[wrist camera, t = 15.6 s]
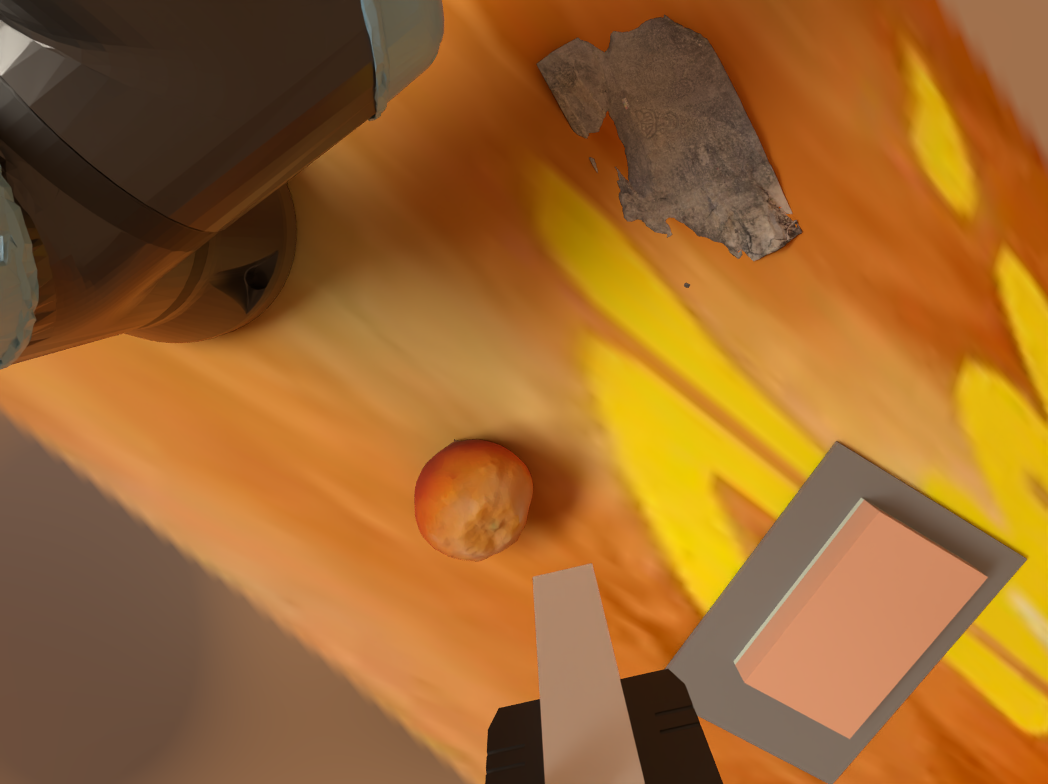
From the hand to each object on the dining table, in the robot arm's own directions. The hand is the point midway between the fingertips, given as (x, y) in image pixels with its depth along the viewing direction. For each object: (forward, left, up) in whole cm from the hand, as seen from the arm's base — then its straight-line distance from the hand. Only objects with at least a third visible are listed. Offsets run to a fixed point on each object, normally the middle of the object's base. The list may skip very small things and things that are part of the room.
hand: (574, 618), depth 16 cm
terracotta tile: (+13, -30, -28) cm, 43 cm away
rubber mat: (+18, -25, -29) cm, 43 cm away
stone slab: (+12, +12, -30) cm, 35 cm away
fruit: (-6, -7, -30) cm, 31 cm away
